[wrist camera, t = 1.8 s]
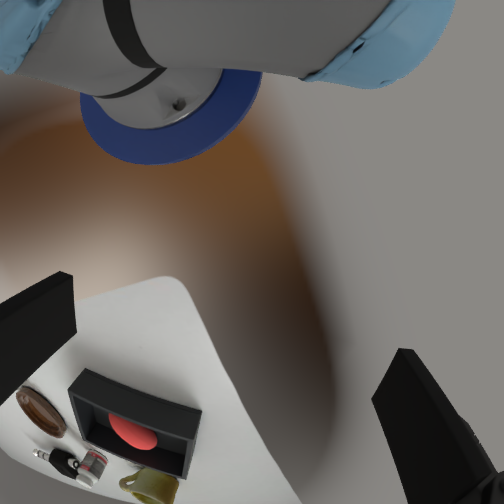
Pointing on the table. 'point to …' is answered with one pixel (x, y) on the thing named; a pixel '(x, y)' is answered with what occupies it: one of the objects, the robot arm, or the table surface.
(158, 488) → the mug
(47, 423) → the plate
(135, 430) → the stress ball
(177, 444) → the bin
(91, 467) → the pill bottle
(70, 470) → the audio adapter
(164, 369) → the table surface
